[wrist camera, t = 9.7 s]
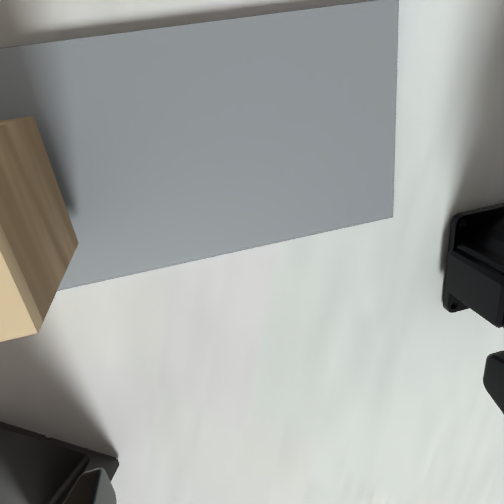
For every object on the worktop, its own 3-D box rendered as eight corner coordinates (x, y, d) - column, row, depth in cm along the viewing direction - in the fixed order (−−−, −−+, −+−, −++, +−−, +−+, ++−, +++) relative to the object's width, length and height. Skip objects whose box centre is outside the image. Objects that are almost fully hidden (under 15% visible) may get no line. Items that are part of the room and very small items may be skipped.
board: (393, -1, 17) (398, -3, 17) (389, 214, 21) (393, 217, 21) (-248, 81, 13) (-259, 81, 13) (-97, 320, 18) (-102, 325, 17)
